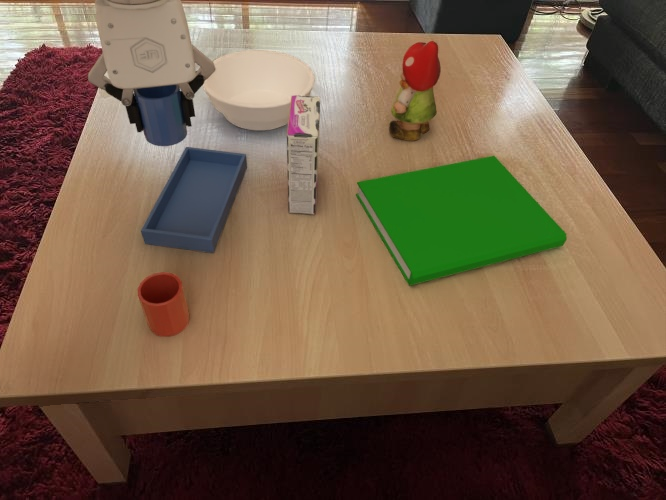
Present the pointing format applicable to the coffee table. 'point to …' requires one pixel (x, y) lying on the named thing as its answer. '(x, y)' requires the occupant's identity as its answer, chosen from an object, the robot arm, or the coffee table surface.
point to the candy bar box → (303, 154)
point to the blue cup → (161, 114)
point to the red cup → (164, 304)
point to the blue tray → (196, 200)
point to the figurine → (416, 92)
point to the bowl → (257, 87)
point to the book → (456, 218)
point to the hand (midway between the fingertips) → (163, 122)
